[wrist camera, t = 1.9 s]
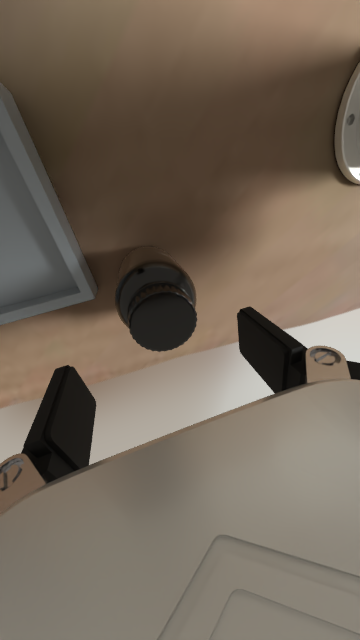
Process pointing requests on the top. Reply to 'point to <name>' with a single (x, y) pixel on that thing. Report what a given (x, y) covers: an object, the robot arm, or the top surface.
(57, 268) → the tray
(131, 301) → the supplement bottle
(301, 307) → the top surface
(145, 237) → the top surface
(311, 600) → the robot arm
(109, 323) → the top surface
